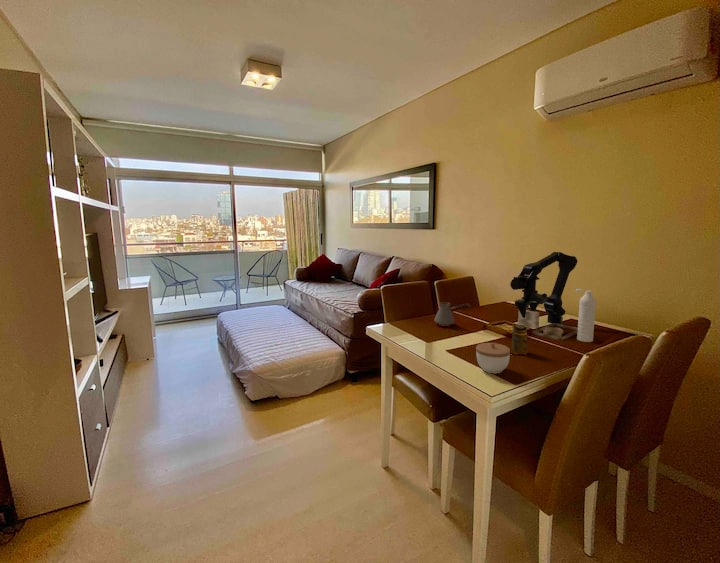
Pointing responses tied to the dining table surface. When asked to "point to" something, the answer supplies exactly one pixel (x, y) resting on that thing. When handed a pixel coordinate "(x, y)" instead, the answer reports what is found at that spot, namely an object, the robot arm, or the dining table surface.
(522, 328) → the condiment
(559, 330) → the offcut
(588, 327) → the water bottle
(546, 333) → the offcut
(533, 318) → the pale grey rectangular block
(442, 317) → the coffee pot
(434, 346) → the dining table surface
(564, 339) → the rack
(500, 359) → the lidded bowl
